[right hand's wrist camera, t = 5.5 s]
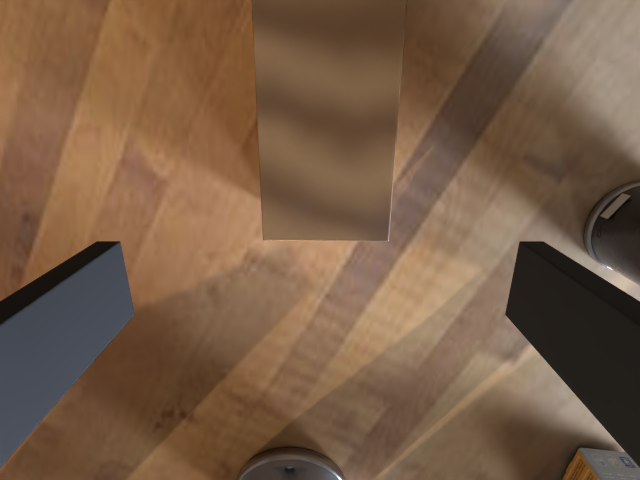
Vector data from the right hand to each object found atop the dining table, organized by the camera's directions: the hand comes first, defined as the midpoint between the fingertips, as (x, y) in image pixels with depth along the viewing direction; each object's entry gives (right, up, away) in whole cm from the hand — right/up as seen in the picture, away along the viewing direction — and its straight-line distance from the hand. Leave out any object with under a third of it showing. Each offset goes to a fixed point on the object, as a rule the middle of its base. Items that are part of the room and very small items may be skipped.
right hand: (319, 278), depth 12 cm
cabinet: (0, +13, +22) cm, 26 cm away
